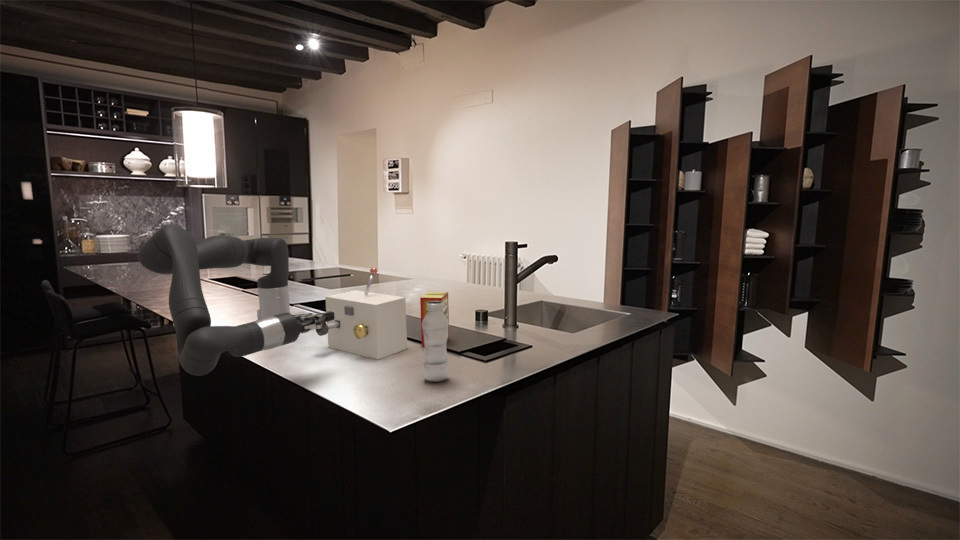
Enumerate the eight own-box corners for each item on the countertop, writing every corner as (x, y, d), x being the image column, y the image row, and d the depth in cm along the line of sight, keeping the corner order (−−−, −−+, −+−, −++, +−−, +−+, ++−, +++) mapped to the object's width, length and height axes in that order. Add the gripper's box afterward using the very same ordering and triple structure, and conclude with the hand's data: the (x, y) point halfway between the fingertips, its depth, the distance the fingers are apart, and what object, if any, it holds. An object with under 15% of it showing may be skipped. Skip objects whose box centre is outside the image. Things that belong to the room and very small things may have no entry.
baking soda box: (442, 348, 148) (441, 296, 146) (421, 347, 149) (420, 296, 147) (449, 339, 157) (448, 290, 155) (429, 338, 158) (428, 290, 156)
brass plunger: (353, 337, 139) (352, 324, 138) (371, 332, 144) (371, 319, 144) (363, 339, 136) (362, 326, 136) (381, 334, 142) (380, 320, 142)
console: (326, 347, 149) (323, 297, 147) (358, 337, 160) (355, 290, 158) (376, 360, 137) (373, 305, 135) (407, 348, 148) (405, 297, 145)
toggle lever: (360, 294, 146) (369, 266, 149) (365, 296, 148) (374, 268, 150) (365, 294, 145) (374, 266, 147) (370, 296, 147) (379, 269, 149)
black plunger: (315, 334, 142) (314, 321, 142) (334, 329, 148) (334, 316, 147) (324, 336, 140) (323, 323, 139) (343, 331, 146) (342, 318, 145)
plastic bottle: (423, 375, 125) (421, 300, 122) (449, 374, 125) (447, 299, 122) (422, 385, 118) (420, 305, 115) (449, 384, 119) (448, 305, 116)
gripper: (259, 342, 119) (318, 325, 133) (291, 351, 112) (350, 332, 126) (256, 312, 118) (316, 298, 132) (288, 320, 110) (348, 304, 124)
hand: (332, 315), depth 129 cm, fingers closed
